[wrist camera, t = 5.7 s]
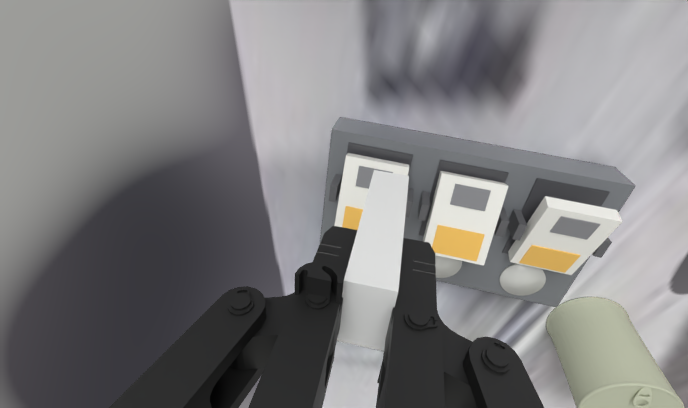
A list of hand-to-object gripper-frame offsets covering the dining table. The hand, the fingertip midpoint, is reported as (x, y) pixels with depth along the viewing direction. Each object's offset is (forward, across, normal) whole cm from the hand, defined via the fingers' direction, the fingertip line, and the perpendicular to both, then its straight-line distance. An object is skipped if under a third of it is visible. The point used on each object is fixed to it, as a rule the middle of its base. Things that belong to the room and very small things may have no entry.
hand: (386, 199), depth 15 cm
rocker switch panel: (+22, +7, -14) cm, 27 cm away
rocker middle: (+16, +7, -11) cm, 21 cm away
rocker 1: (+16, -2, -10) cm, 19 cm away
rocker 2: (+16, +16, -11) cm, 25 cm away
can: (+22, +28, -27) cm, 45 cm away
